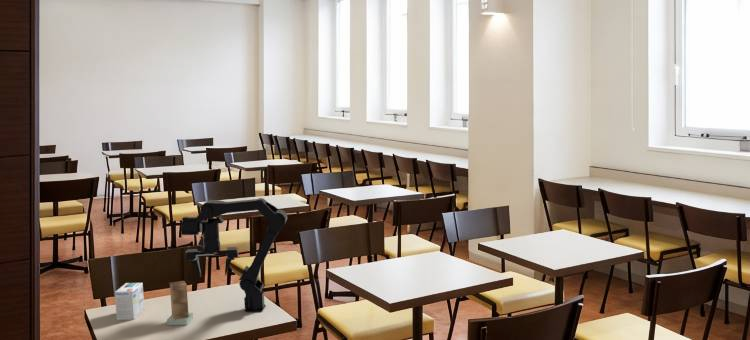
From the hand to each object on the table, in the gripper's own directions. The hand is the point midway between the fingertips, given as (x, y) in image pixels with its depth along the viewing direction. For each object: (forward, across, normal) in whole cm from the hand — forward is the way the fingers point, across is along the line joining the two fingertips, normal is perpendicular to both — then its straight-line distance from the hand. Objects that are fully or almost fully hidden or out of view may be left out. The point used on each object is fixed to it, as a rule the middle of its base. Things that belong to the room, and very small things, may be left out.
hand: (213, 276), depth 255 cm
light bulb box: (+14, +30, -2) cm, 33 cm away
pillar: (+11, +11, +10) cm, 19 cm away
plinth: (+13, +11, +10) cm, 20 cm away
